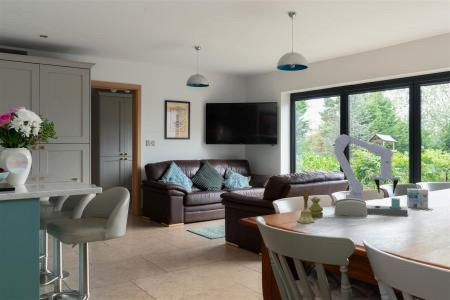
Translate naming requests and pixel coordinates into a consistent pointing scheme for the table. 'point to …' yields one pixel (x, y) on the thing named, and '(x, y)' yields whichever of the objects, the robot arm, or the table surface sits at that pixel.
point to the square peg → (395, 203)
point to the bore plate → (386, 210)
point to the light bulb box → (417, 198)
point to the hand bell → (305, 210)
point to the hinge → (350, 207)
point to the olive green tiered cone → (316, 208)
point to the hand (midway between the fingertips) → (386, 193)
